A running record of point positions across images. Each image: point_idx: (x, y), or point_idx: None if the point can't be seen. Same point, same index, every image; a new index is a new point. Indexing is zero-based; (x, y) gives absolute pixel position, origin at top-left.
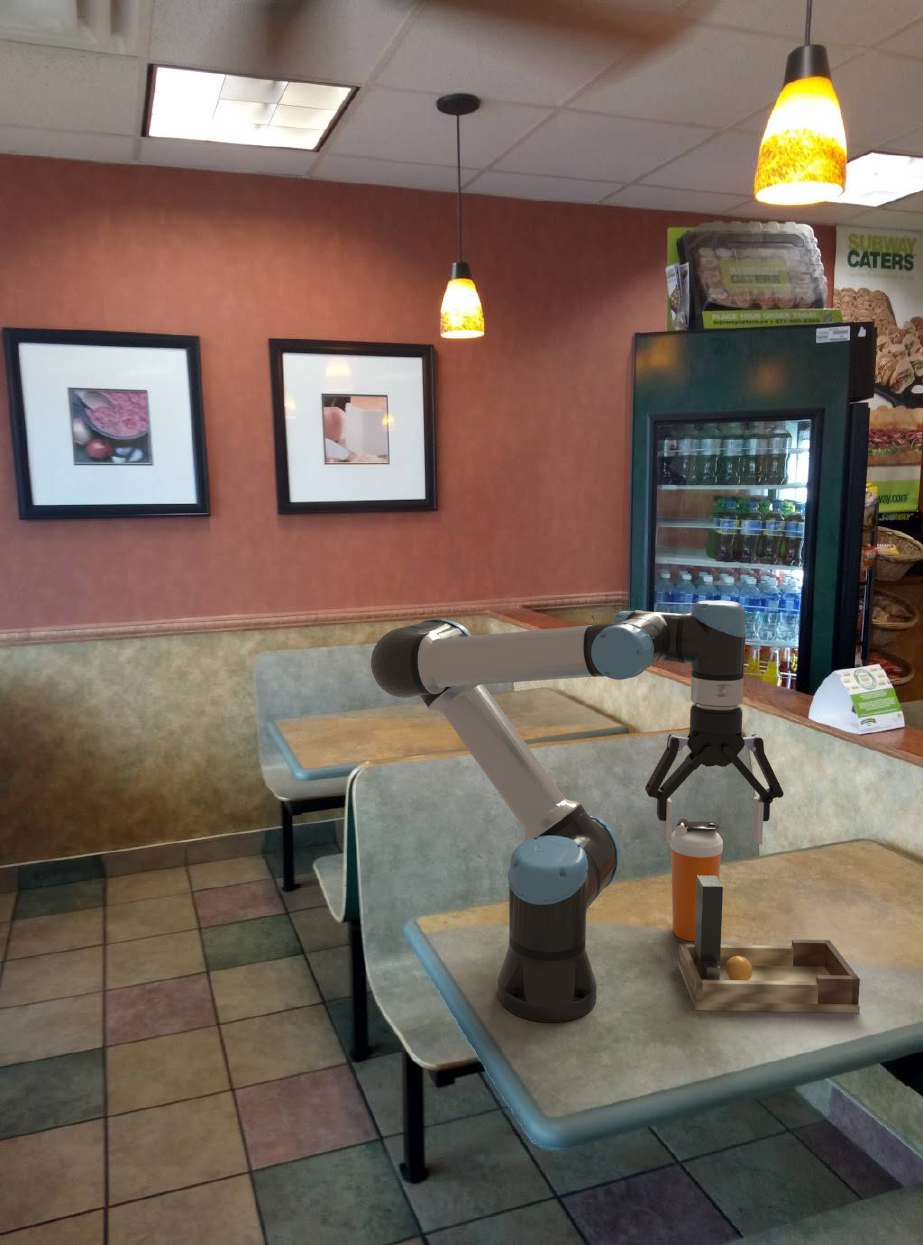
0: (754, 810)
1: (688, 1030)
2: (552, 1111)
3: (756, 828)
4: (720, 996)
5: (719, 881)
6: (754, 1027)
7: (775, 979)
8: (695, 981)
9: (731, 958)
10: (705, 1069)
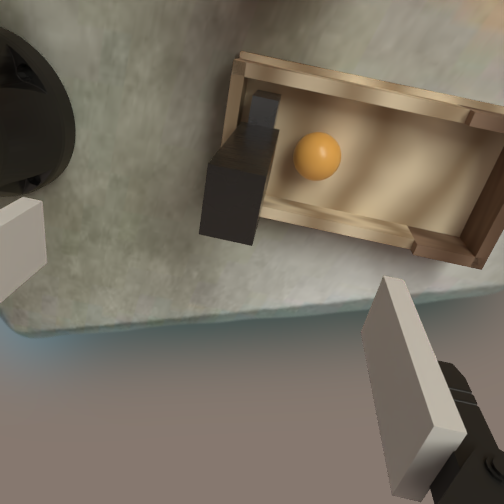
0: (404, 384)
1: (191, 236)
2: (17, 325)
3: (373, 361)
4: None
5: (257, 215)
6: (284, 248)
7: (385, 156)
8: None
9: (305, 153)
10: (186, 305)
